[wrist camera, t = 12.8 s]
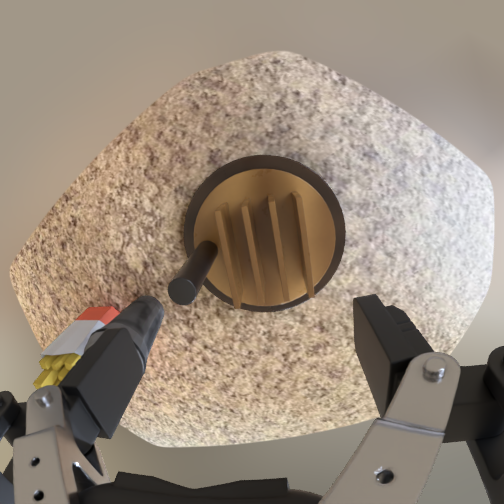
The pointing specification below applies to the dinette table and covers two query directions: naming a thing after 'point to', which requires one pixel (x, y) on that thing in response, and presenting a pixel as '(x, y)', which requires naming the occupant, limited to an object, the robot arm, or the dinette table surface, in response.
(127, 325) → the beverage cup
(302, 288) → the plate rack
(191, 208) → the base
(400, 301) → the dinette table surface
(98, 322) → the french fries container
